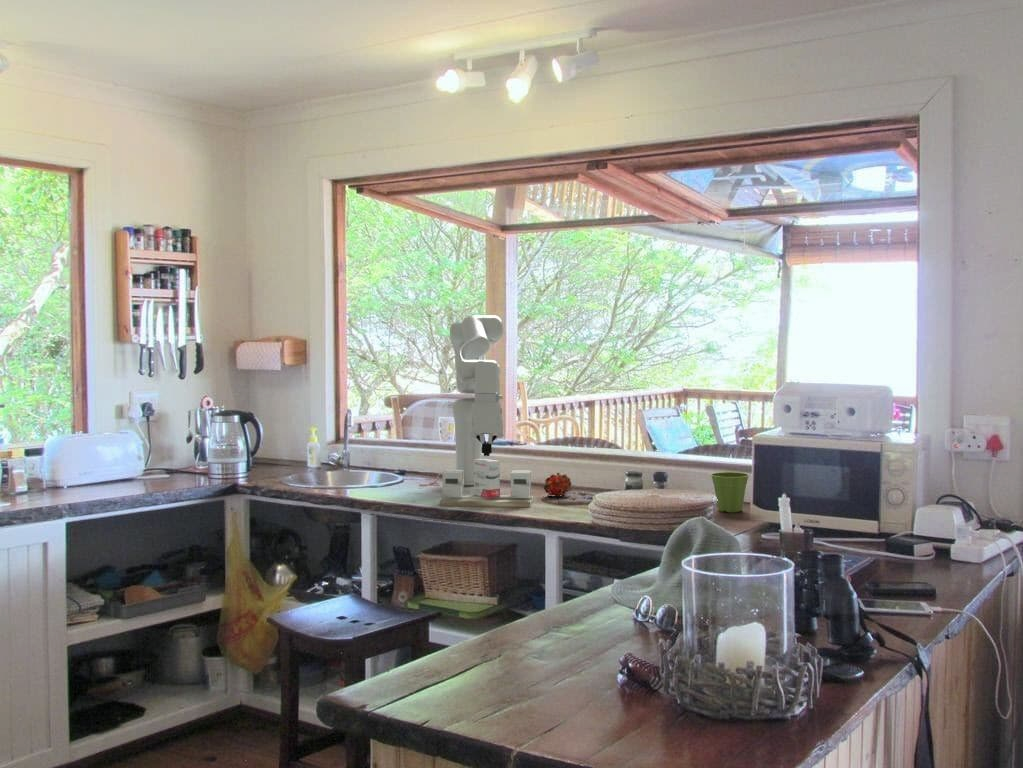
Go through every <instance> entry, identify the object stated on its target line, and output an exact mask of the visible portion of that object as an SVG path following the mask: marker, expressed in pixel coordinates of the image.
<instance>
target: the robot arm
mask: <svg viewBox="0 0 1023 768" xmlns="http://www.w3.org/2000/svg"><path fill="white" fill-rule="evenodd" d="M503 333H504V324H503V321H502V319H501V318H500V317H499V316H497V315H494V314H493V315H489V314H488V315H485V314H480V315H479V314H477V315H468V316H466V317H465V318H463V320H459V321H455V322H453V323H452V324H451V325H450V327H449V339H450V341H451V346H452V348H453V351H454V353H455V357H454V366H455V371H456V372H455V373H456V374H455V375H456V376H455V377H456V389H457V391H458V392H459V393H460V394H466V395H467V394H468V395H474V397H462V398H458V399H456V400H455V401H454V402H453V404H452V414H453V420H454V421H453V423H454V432H455V470H464V486H474V460H475V459H482V454H483V457H486V456H487V457H489V456H490V455H491V454H492V447H493V445H492V443H493V442H494V441H495V440H496V439H499V438H503V437H504V432H503V429H504V422H503V408H502V405H501V404H502V403H501V400H503V399H504V398H503V394H501V381H500V377H501V376H500V375H501V374H500V373H501V369H500V368H501V367H500V365H499V364H498V361H496V360H494V359H480V357H483V356H485V355H486V354H487V353H488V351H489V350H490V348H491V347H490V346H491V345H494V344H497V343H498V342H499V341H500V340H501V339H502V337H503ZM485 435H488V440H487V441H486V436H485Z"/></svg>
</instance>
